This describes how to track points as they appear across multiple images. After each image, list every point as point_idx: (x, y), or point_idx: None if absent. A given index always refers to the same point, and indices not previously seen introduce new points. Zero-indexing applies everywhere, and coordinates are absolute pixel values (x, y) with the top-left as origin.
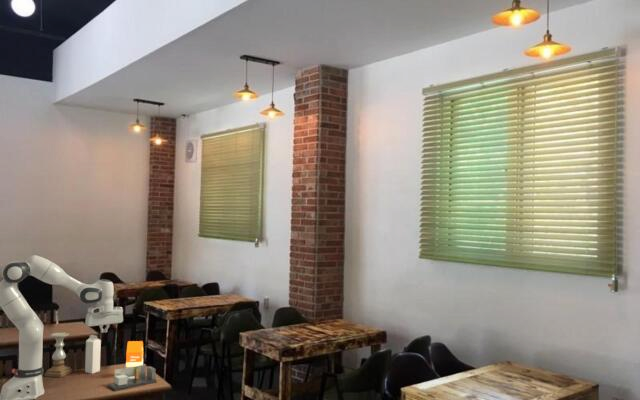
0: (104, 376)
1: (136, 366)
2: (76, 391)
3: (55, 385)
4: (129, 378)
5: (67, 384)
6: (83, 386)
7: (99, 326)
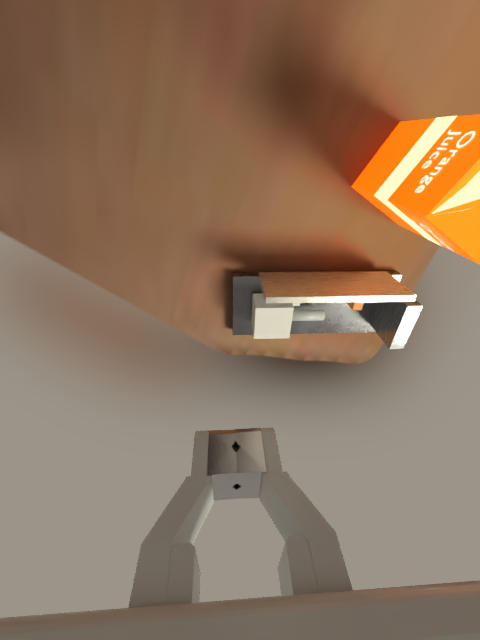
0: (281, 97)
1: (368, 301)
2: (110, 258)
3: (3, 89)
4: (301, 320)
5: (72, 118)
6: (145, 210)
7: (143, 554)
